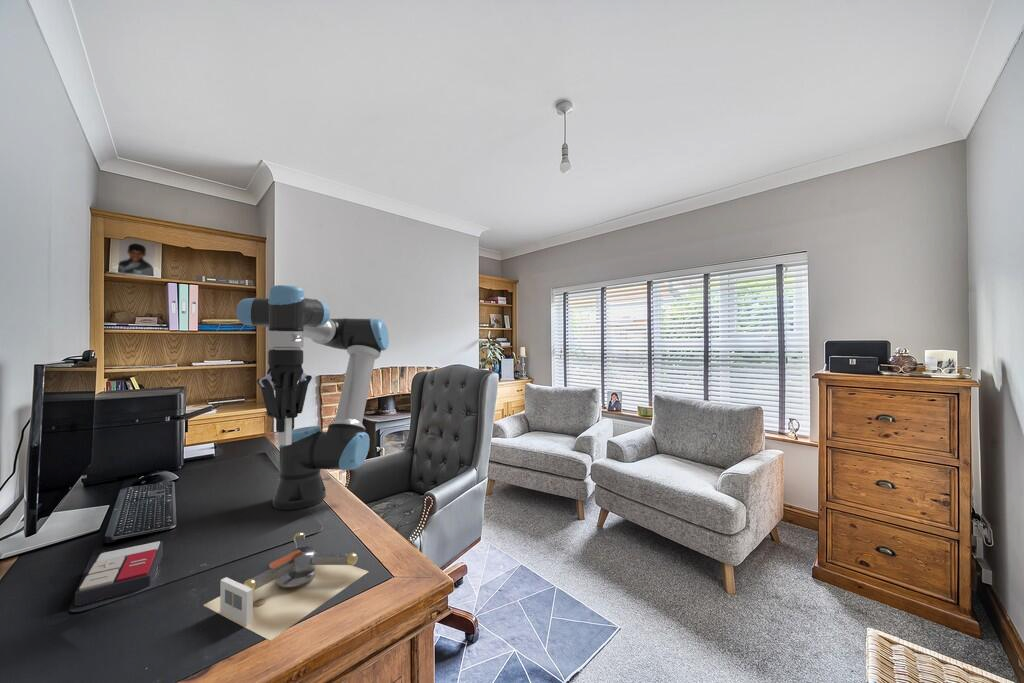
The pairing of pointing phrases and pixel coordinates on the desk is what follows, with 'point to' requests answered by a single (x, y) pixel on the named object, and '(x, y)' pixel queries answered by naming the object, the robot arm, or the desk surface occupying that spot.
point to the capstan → (298, 566)
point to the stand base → (294, 599)
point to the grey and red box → (120, 572)
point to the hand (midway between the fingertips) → (285, 444)
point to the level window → (236, 601)
